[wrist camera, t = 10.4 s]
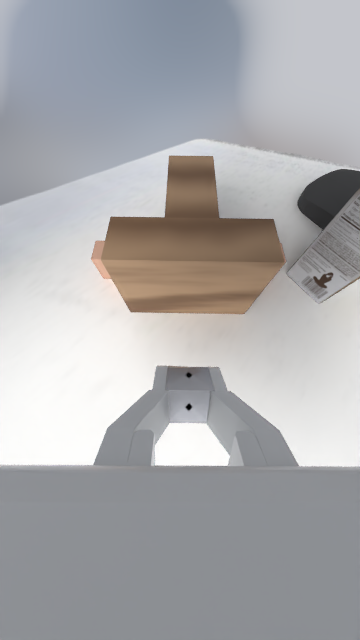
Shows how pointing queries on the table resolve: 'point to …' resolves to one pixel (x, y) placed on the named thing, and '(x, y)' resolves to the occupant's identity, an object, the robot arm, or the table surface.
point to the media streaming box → (328, 195)
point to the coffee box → (332, 255)
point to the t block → (191, 250)
